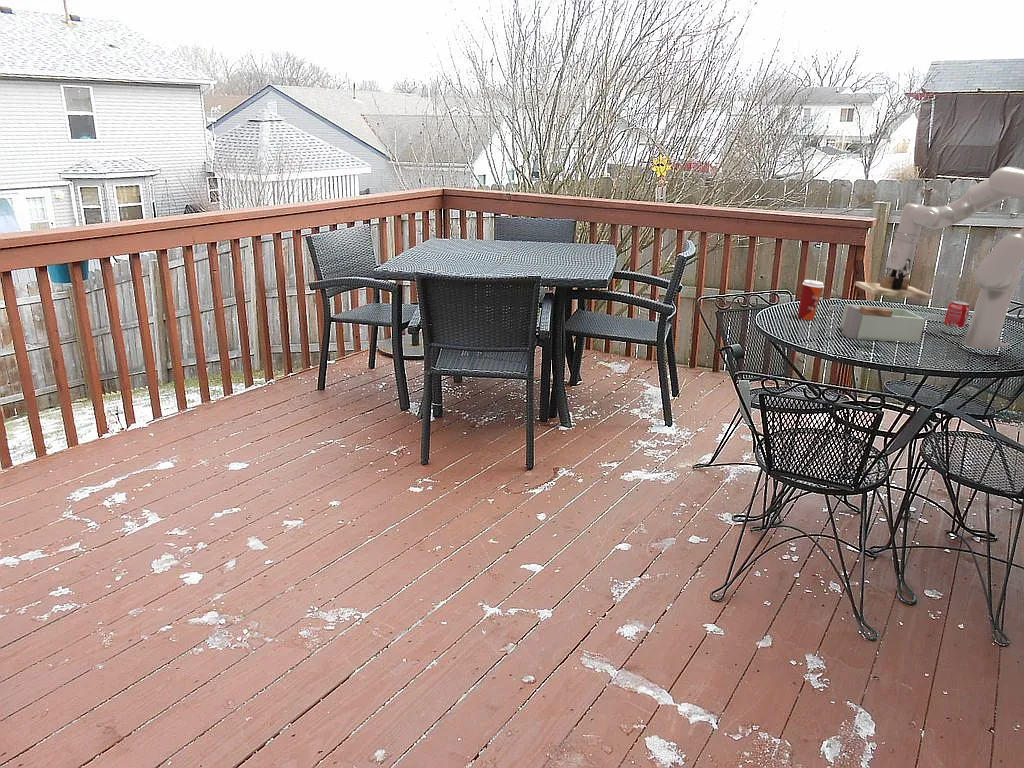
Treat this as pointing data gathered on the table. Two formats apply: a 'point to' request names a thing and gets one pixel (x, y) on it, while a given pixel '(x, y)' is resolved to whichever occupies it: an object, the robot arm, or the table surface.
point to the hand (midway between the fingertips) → (893, 287)
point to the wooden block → (876, 311)
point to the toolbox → (881, 325)
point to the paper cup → (810, 299)
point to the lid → (886, 289)
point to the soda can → (957, 314)
